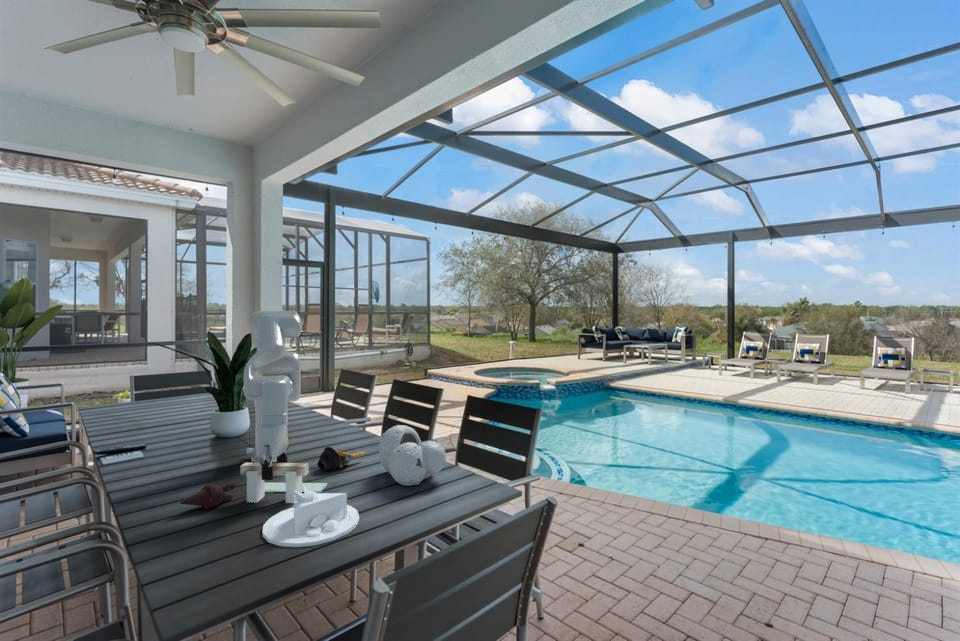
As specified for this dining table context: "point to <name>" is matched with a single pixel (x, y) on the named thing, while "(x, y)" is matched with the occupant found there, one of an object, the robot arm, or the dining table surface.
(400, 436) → the grey lumpy clump
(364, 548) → the dining table surface
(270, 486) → the mat
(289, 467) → the rail
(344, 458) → the fried shrimp in bowl
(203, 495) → the icecream
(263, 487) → the post
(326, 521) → the dish
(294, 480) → the post
